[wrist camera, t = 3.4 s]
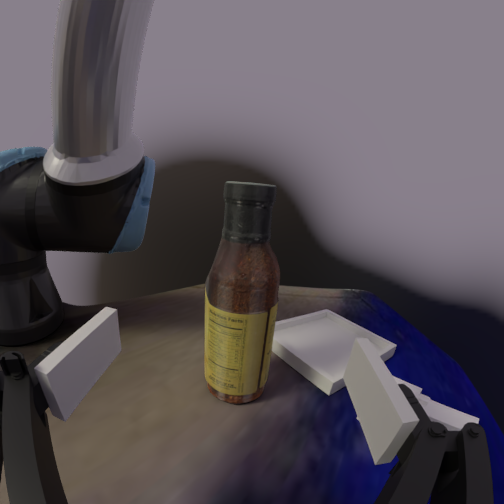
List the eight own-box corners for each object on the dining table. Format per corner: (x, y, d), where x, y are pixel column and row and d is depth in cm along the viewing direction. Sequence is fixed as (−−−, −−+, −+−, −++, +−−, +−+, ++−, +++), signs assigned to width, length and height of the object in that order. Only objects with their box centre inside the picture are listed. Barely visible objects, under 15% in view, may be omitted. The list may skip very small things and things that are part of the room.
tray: (255, 337, 37) (257, 325, 36) (324, 318, 44) (327, 309, 44) (328, 395, 25) (333, 382, 25) (392, 355, 33) (396, 345, 33)
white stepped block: (473, 467, 12) (507, 426, 11) (379, 512, 11) (416, 475, 10) (411, 387, 27) (428, 348, 25) (330, 398, 26) (344, 356, 24)
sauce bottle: (238, 363, 30) (257, 184, 26) (277, 391, 26) (311, 190, 21) (189, 381, 26) (198, 177, 21) (227, 418, 21) (251, 180, 17)
